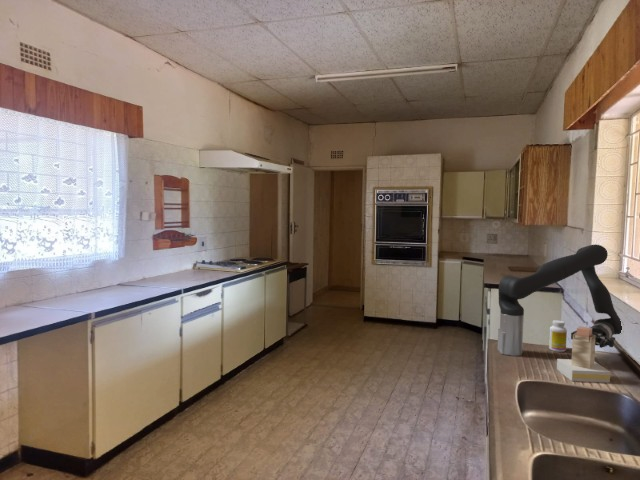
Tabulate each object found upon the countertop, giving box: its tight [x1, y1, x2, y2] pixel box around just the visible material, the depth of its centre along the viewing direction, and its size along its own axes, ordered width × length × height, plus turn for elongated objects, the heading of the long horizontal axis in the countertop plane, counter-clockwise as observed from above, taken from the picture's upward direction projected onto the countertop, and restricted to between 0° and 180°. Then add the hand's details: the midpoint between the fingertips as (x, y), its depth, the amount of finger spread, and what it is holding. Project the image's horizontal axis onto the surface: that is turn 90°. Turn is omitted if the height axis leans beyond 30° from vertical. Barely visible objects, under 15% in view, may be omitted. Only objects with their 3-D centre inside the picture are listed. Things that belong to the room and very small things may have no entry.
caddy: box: [571, 332, 596, 369], centre depth 161 cm, size 6×6×12 cm
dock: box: [556, 358, 611, 384], centre depth 161 cm, size 13×12×4 cm
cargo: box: [576, 326, 592, 341], centre depth 161 cm, size 4×4×4 cm
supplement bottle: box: [548, 319, 568, 353], centre depth 191 cm, size 7×7×13 cm
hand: (587, 342), depth 165 cm, fingers open, 8 cm apart
